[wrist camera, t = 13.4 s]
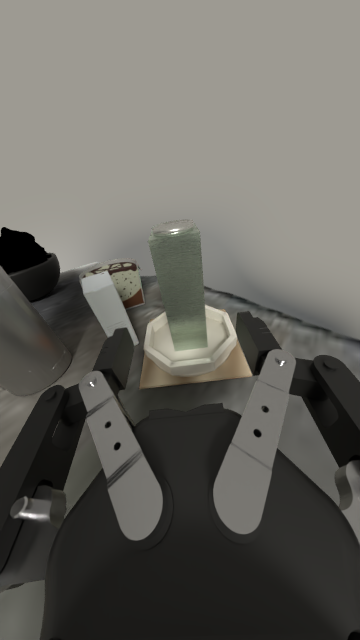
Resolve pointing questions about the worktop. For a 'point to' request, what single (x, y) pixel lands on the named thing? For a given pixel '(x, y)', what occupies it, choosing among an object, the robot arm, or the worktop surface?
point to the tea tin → (181, 281)
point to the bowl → (191, 360)
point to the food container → (121, 279)
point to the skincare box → (107, 304)
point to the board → (228, 370)
